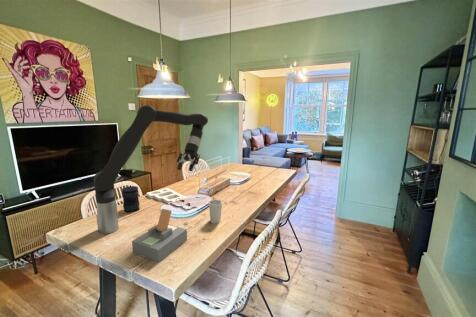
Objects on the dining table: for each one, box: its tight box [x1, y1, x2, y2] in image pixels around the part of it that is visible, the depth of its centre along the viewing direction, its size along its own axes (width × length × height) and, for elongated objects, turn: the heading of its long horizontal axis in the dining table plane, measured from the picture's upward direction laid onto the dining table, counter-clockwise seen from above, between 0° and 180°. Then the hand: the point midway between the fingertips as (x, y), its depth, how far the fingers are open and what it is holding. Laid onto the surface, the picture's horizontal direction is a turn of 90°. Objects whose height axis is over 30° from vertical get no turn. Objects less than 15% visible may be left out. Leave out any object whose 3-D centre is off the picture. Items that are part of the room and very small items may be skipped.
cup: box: [208, 199, 223, 224], centre depth 139 cm, size 8×8×12 cm
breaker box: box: [131, 223, 188, 263], centre depth 113 cm, size 20×16×9 cm
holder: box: [146, 187, 187, 204], centre depth 170 cm, size 45×18×3 cm, turn 44°
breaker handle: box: [156, 208, 172, 234], centre depth 114 cm, size 2×5×12 cm, turn 65°
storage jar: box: [121, 185, 141, 214], centre depth 153 cm, size 10×10×15 cm
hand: (184, 170), depth 132 cm, fingers open, 8 cm apart
